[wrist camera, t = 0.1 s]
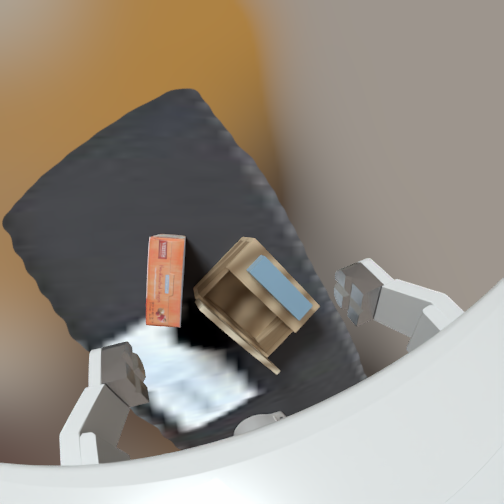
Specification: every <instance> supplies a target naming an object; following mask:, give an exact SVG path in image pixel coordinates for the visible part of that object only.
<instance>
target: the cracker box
mask: <svg viewBox="0 0 504 504" xmlns="http://www.w3.org/2000/svg"><path fill="white" fill-rule="evenodd" d="M185 243H186V236H182V235H170V234H159V235H155V236H152V237H149V249H148V267H147V296H146V325H152V326H167V327H179V328H180V327H181V312H182V295H183V280H184V265H185Z"/></svg>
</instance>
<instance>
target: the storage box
mask: <svg viewBox="0 0 504 504" xmlns="http://www.w3.org/2000/svg"><path fill="white" fill-rule="evenodd" d="M260 255H263V256H265V257H266V258H267V259H268V260H269V261H270V262H271V263H272V264H273V265H274V266H275V267H276V268H277V269H278V270H279V271H280V272H281V273H282V274H283V275H284V276H285V277H286V278H287V279H288V280H289V281H290V282H291V283H292V284H293V285H294V286H295V287H296V288H297V290H298V291H299V292H300V293H301V294H302V295H303V296H304V297H305V298H306V299H307V300H308V301H309V302H310V303H311V304H312V305H313V306H312V308H311V309H310V310H309V311H308V312H307V313H306V314H305V315H304V316H303V317H302V318H301V320H300V321H299V320H298V319H296V318H295V317H294V316H293V315H292V314H291V313H289V312H288V311H287V310H286V309H285V308H284V307H283V306H282V305H281V304H280V303H279V302H278V301H277V300H276V299H275V298H274V297H273V296H272V295H271V294H270V293H269V292H268V291H267V290H266V289H265V288H264V287H263V286H262V285H261V284H260V283H259V282H258V281H257V280H256V279H255V278H254V277H253V276H252V275H251V274H250V273H249V272H248V271H247V269H248V268H249V266H250V265H251V264H252V263H253V262H254V261H255V260H256V259H257V258H258V257H259V256H260ZM193 290H194V295H195V299H196V300H197V299H198V298H199V299H200V300H201V301H202V302H203V303H204V304H205V305H207V306H208V307H209V308H210V309H211V310H212V311H213V312H214V313H215V314H217V315H218V316H219V317H220V318H221V319H222V320H223V321H224V322H226V323H227V324H228V325H229V326H230V327H231V328H233V329H234V330H235V331H236V332H237V333H238V334H239V335H241V336H242V337H243V338H244V339H245V340H247V341H248V342H249V343H250V344H251V345H252V346H254V347H255V348H256V349H257V350H258V351H260V352H261V353H262V354H263V355H264V356H266V357H268V356H269V355H270V354H271V353H272V352H273V351H274V350H275V349H276V348H277V347H278V346H279V345H280V344H281V343H282V342H283V341H284V340H285V339H286V338H287V337H288V336H289V335H290V334H291V333H292V332H293V331H294V332H295V333H296V332H297V331H298V330H299V329H300V328H301V327H302V325H303V324H304V323H305V322H306V321H307V320H308V319H309V318H310V317H311V316H312V315H313V313H314V312H315V311H316V310H317V309H318V308H319V307H320V306H319V305H318V304H317V302H316V301H315V300H314V299H313V298H312V297H311V296H310V295H309V294H308V293H307V292H306V291H305V290H304V289H303V288H302V287H301V286H300V285H299V284H298V283H297V281H296V280H295V279H294V278H293V277H292V276H291V275H290V274H289V273H288V272H287V271H286V270H285V269H284V268H283V267H282V266H281V265H280V264H279V263H278V262H277V261H276V260H275V259H274V257H273V256H272V255H271V254H270V253H269V252H268V251H267V250H266V249H265V248H264V247H263V246H262V245H261V244H260V243H259V242H258V241H257V240H256V239H255V238H248V237H242V238H241V239H240V240H239V241H238V242H237V243H236V244H235V245H234V246H233V247H232V248H231V249H230V250H229V251H228V252H227V253H226V254H225V255H224V256H223V257H222V259H221V260H220V261H219V262H218V263H217V264H216V265H215V266H214V267H213V268H212V269H211V270H210V271H209V272H208V273H207V274H206V275H205V276H204V277H203V278H202V279H201V280H200V281H199V282H198V283H197V284H196V285H195V286H194V288H193Z"/></svg>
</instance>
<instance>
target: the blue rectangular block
mask: <svg viewBox="0 0 504 504" xmlns="http://www.w3.org/2000/svg"><path fill="white" fill-rule="evenodd" d="M247 271H248V272H249V273H250V274H251V275H252V276H253V277H254V278H255V279H256V280H257V281H258V282H259V283H260V284H261V285H262V286H263V287H264V288H265V289H266V290H267V291H268V292H269V293H270V294H271V295H272V296H273V297H274V298H275V299H276V300H277V301H278V302H279V303H280V304H281V305H282V306H283V307H284V308H285V309H286V310H287V311H288V312H289V313H291V314H292V315H293V316H294V317H295V318H296V319H298V320H299V321H300V320H301V318H302V317H303V316H304V315H305V314H306V313H307V312H308V311H309V310H310V309H311V308H312V306H313V305H312V304H311V303H310V302H309V301H308V300H307V299H306V298H305V297H304V296H303V295H302V294H301V293H300V292H299V291H298V290H297V288H296V287H295V286H294V285H293V284H292V283H291V282H290V281H289V280H288V279H287V278H286V277H285V276H284V275H283V274H282V273H281V272H280V271H279V270H278V269H277V268H276V267H275V266H274V265H273V264H272V263H271V262H270V261H269V260H268V259H267V258H266V257H265V256H263V255H260V256H259V257H258V258H257V259H256V260H255V261H254V262H253V263H252V264H251V265H250V266H249V268H248V269H247Z"/></svg>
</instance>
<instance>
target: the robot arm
mask: <svg viewBox="0 0 504 504" xmlns="http://www.w3.org/2000/svg"><path fill="white" fill-rule="evenodd" d="M335 279H336V280H337V281H338V282H337V284H336V285H335V287H334V295H335V298H336V301H337V303H338V305H339V306H340V307H341V308H342V309H345V310H347V311H348V317H349V318H350V319H351V321H352V322H353V323H354V324H355V325H356V326H360V325H362V324H364V323H366V322H368V321H370V320H372V319H374V320H375V321H377V322H379V323H381V324H383V325H385V326H387V327H389V328H392V329H394V330H396V331H398V332H400V333H402V334H404V335H406V336H408V337H410V338H411V339H410V341H409V343H408V345H407V351H408V352H409V353H408V354H406V355H405V356H403V357H402V358H400V359H399V360H397V361H395V362H394V363H393V364H391V365H389V366H387V367H386V368H384V369H382V370H381V371H379V372H377V373H375V374H374V375H372V376H370V377H368V378H367V379H365V380H363V381H361V382H359V383H358V384H356V385H354V386H352V387H350V388H348V389H346V390H344V391H342V392H340V393H338V394H336V395H334V396H332V397H330V398H328V399H326V400H324V401H322V402H320V403H318V404H316V405H313V406H311V407H309V408H307V409H304V410H302V411H300V412H298V413H295V414H293V415H290V416H288V417H286V416H285V415H284V414H283V413H282V412H280V411H279V412H275V413H272V414H259V415H255V416H251V417H249V418H247V419H245V420H244V421H242V422H241V423H240V424H239V425H238V426H237V427H236V429H235V431H234V436H233V437H230V438H226V439H223V440H220V441H216V442H213V443H209V444H206V445H202V446H198V447H194V448H190V449H186V450H182V451H177V452H173V453H168V454H163V455H158V456H152V457H147V458H141V459H135V460H130V456H129V455H128V454H127V453H125V452H123V451H121V450H120V449H118V448H116V447H117V444H118V441H119V438H120V435H121V432H122V429H123V426H124V423H125V421H126V418H127V415H128V412H129V410H130V408H129V407H133V406H137V405H141V404H144V403H148V402H149V397H148V390H147V387H146V385H145V384H144V383H143V381H144V380H145V378H146V376H145V370H144V367H143V364H142V362H141V360H140V358H139V356H138V355H137V354H135V353H132V347H131V345H130V344H129V343H128V342H123V343H119V344H114V345H110V346H106V347H103V348H99V349H95V350H91V352H90V355H89V387H87V388H85V390H84V391H83V393H82V395H81V397H80V398H79V400H78V402H77V404H76V405H75V407H74V409H73V411H72V413H71V414H70V416H69V418H68V420H67V422H66V424H65V425H64V427H63V429H62V431H61V433H60V457H61V458H60V459H61V466H38V465H19V464H8V463H0V504H504V278H502V279H501V280H500V281H499V282H498V283H497V284H496V285H495V286H494V287H493V288H492V289H491V290H489V291H488V292H487V293H486V294H485V295H484V296H483V297H482V298H481V299H479V300H478V301H477V302H476V303H475V304H474V305H473V306H471V307H470V308H469V309H468V310H466V311H465V312H464V311H463V310H462V309H461V308H460V307H459V306H457V304H455V303H454V302H453V301H452V300H451V299H450V298H449V297H448V296H447V295H446V294H444V293H441V292H437V291H434V290H431V289H428V288H425V287H422V286H418V285H415V284H412V283H409V282H405V281H402V280H398V279H396V280H394V279H393V278H391V277H390V276H389V275H388V274H387V273H386V272H385V271H384V270H383V269H382V268H381V267H379V266H378V265H377V264H376V263H375V262H374V261H373V260H372V259H370V258H366V259H364V260H362V261H359V262H357V263H354V264H352V265H350V266H347V267H344V268H342V269H339V270H337V272H336V274H335ZM281 417H282V418H281Z"/></svg>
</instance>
